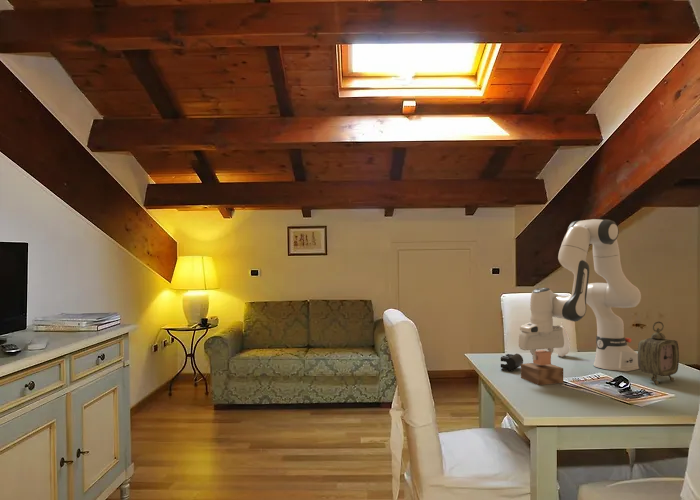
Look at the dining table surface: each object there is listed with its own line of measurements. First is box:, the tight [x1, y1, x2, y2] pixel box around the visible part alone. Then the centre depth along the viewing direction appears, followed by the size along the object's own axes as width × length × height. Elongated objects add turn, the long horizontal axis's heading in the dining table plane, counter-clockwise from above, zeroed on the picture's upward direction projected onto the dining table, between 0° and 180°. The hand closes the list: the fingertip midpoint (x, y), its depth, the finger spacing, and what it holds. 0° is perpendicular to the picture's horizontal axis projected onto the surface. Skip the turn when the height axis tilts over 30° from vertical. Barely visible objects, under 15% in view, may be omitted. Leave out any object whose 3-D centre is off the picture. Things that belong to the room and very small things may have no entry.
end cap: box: [500, 353, 524, 373], centre depth 235 cm, size 10×7×7 cm
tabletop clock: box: [637, 321, 680, 385], centre depth 212 cm, size 14×9×25 cm, turn 117°
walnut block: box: [520, 362, 564, 386], centre depth 216 cm, size 12×12×6 cm
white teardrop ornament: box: [553, 321, 571, 358], centre depth 261 cm, size 8×8×18 cm
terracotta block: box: [532, 349, 552, 365], centre depth 216 cm, size 5×5×5 cm
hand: (541, 359), depth 216 cm, fingers closed on terracotta block, 5 cm apart
